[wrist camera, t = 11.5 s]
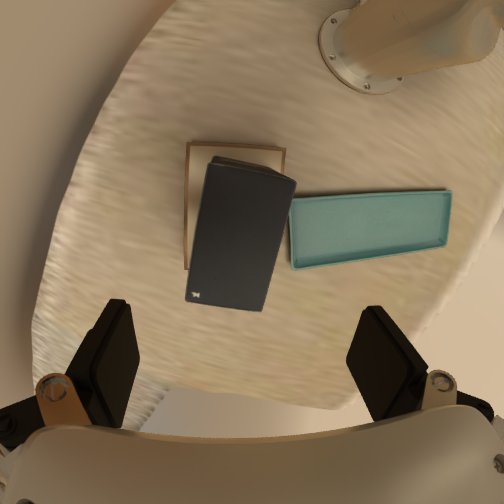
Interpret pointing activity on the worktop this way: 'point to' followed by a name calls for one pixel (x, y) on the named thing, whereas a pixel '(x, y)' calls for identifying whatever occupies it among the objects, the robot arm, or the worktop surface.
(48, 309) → the worktop surface
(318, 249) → the shallow long dish
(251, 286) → the small box
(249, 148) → the brown rectangular tray
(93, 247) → the worktop surface
